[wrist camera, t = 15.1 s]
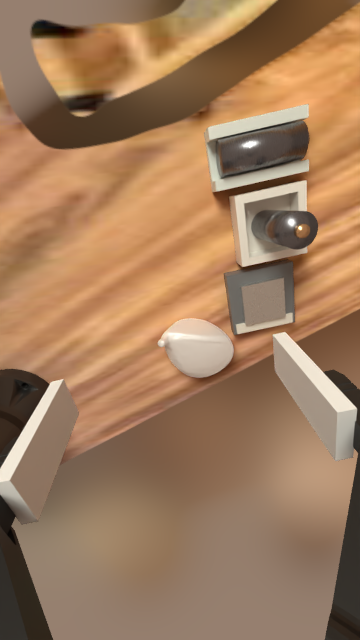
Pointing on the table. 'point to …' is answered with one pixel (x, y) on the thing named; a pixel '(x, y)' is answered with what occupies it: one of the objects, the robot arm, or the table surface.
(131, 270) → the table surface
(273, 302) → the plate
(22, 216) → the table surface
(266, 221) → the cell
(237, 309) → the grey square base pad
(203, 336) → the white rounded lump
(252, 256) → the white square tray
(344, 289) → the table surface
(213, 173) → the trough
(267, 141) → the cell
